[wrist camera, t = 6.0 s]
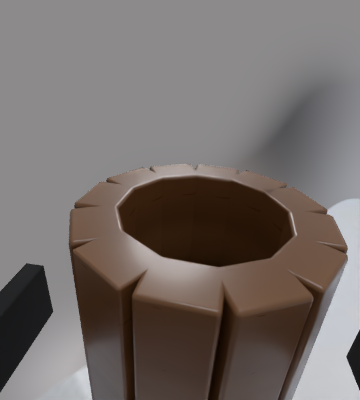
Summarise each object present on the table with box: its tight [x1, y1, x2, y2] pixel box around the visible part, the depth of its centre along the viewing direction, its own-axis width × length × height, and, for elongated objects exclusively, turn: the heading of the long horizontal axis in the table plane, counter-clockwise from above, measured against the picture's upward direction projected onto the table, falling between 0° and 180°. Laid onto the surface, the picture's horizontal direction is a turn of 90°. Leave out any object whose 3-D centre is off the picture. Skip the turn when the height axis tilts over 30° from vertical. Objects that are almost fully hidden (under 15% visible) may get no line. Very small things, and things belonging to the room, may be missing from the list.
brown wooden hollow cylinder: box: [69, 164, 348, 400], centre depth 10 cm, size 6×6×14 cm
